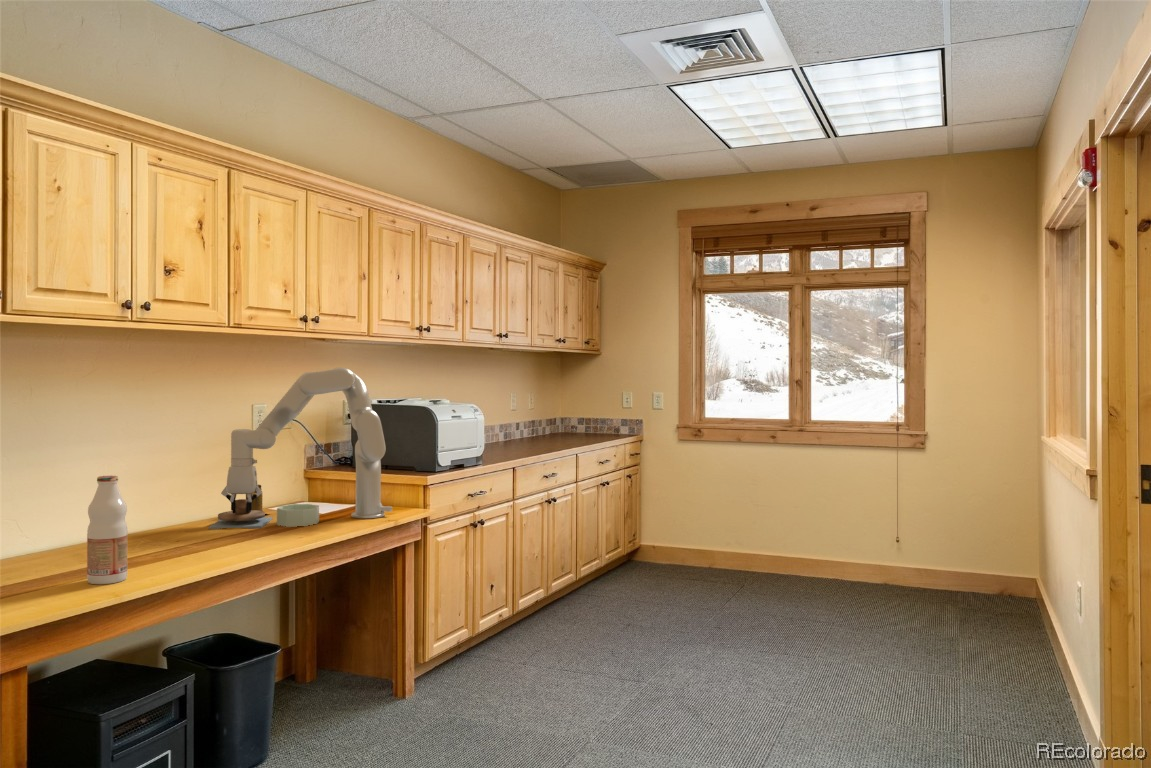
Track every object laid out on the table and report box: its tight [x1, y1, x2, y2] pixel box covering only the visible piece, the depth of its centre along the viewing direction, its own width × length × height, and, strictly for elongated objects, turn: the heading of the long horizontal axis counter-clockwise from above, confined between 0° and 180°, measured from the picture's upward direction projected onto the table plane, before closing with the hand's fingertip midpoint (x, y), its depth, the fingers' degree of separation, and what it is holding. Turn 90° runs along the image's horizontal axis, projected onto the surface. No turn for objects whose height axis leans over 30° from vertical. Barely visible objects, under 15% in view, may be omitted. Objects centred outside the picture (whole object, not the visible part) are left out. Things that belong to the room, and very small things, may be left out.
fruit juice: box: [86, 475, 128, 585], centre depth 223 cm, size 9×9×28 cm
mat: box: [208, 516, 273, 530], centre depth 305 cm, size 18×18×1 cm
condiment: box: [245, 484, 263, 511], centre depth 323 cm, size 7×8×12 cm
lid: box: [217, 498, 266, 521], centre depth 305 cm, size 16×16×6 cm
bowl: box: [276, 503, 320, 528], centre depth 308 cm, size 14×14×6 cm
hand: (241, 512), depth 305 cm, fingers closed on lid, 4 cm apart
